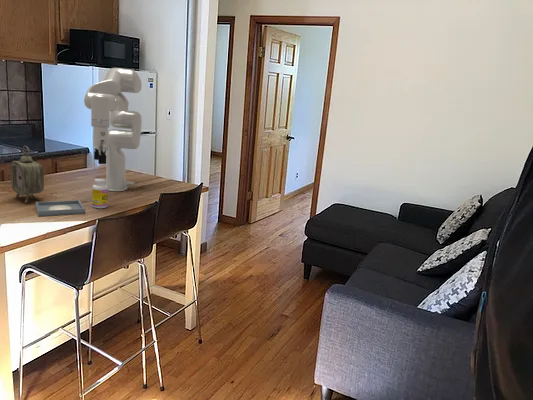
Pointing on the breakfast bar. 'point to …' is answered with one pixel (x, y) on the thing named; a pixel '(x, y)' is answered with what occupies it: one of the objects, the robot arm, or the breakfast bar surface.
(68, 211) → the tray
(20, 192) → the tabletop clock
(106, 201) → the supplement bottle
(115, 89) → the robot arm
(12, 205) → the breakfast bar surface
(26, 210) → the breakfast bar surface
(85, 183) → the breakfast bar surface
